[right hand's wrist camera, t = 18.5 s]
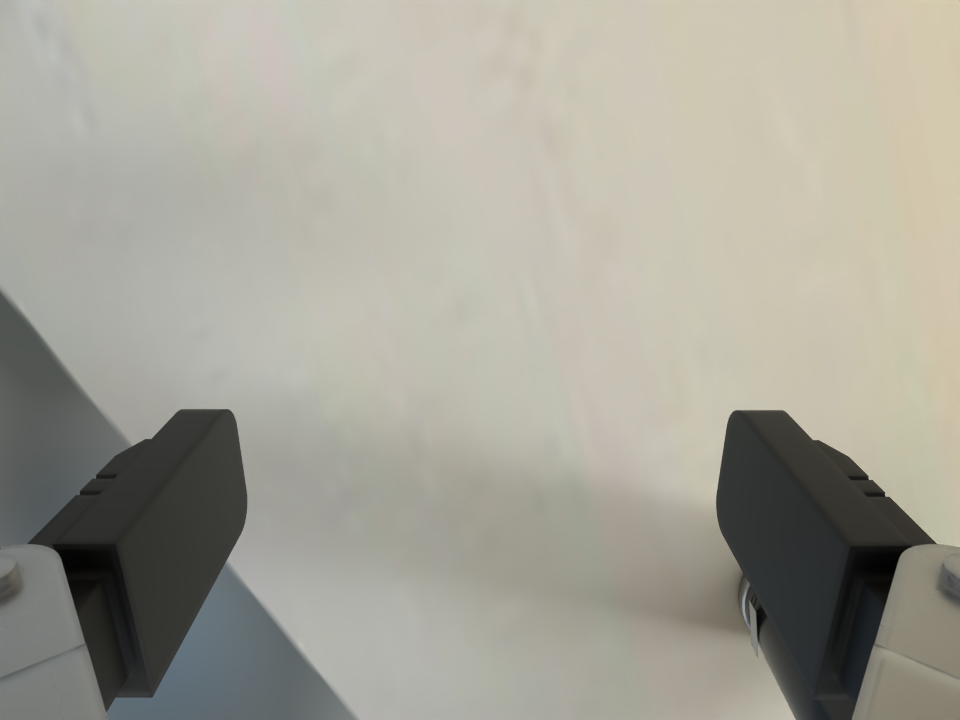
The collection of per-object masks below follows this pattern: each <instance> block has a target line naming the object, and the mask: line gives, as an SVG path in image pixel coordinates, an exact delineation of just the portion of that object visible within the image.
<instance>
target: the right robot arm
mask: <svg viewBox="0 0 960 720" xmlns="http://www.w3.org/2000/svg"><path fill="white" fill-rule="evenodd" d="M868 477H869V476H868V475H867V474H866V473H865V472H864V471H863V470H862V469H861V468H860V467H859V466H858V465H857V464H856V463H855V462H854V461H853V460H852V459H851V458H850V457H848V456H846V455H845V454H843V453H841V452H839V451H837V450H835V449H834V448H832V447H830V446H828V445H826V444H825V443H823V442H821V441H819V440H812V439H811V438H810V437H809V436H808V435H807V433H806V432H805V431H804V430H803V429H802V428H801V427H800V426H799V425H798V424H797V423H796V422H795V421H794V420H793V419H792V418H791V417H790V416H789V415H788V414H787V413H786V412H785V411H783V410H736V411H734V412H733V413H732V414H731V415H730V417H729V420H728V424H727V429H726V436H725V442H724V449H723V456H722V462H721V469H720V476H719V482H718V489H717V497H716V509H717V518H718V523H719V527H720V530H721V532H722V534H723V536H724V538H725V540H726V542H727V544H728V546H729V547H730V549H731V551H732V553H733V555H734V556H735V558H736V560H737V562H738V564H739V566H740V567H741V569H742V571H743V573H744V577H743V580H742V582H741V585H740V590H739V607H740V610H741V613H742V616H743V618H744V620H745V622H746V624H747V626H748V628H749V629H750V631H751V645H752V647H753V649H754V651H755V653H756V655H757V657H758V646H757V642H758V644H759V646H760V648H761V650H762V652H763V654H764V657H765V659H766V661H767V663H768V665H769V667H770V669H771V671H772V673H773V675H774V677H775V679H776V681H777V683H778V685H779V687H780V689H781V691H782V693H783V695H784V697H785V699H786V701H787V703H788V705H789V707H790V709H791V711H792V713H793V715H794V717H795V719H796V720H960V548H959V547H954V546H949V545H940V544H936V543H935V542H934V541H933V540H932V539H931V538H930V537H929V536H928V535H927V534H926V533H925V532H924V531H923V530H922V529H921V528H920V527H919V526H918V525H917V524H916V523H915V522H914V521H913V520H912V519H911V518H910V517H909V516H908V515H907V514H906V513H905V512H904V511H903V510H902V509H901V508H900V507H899V506H898V505H897V504H896V503H895V502H894V501H893V500H892V499H891V498H890V497H885V492H884V491H883V490H882V489H881V488H880V487H879V486H878V485H877V484H876V483H875V482H874V481H873V480H869V479H868ZM246 513H247V491H246V484H245V477H244V470H243V464H242V457H241V450H240V443H239V437H238V430H237V424H236V420H235V417H234V415H233V413H232V412H231V411H230V410H228V409H182V410H179V411H178V412H177V413H176V414H175V415H174V416H173V417H172V418H171V419H170V420H169V421H168V422H167V423H166V424H165V425H164V426H163V428H162V429H161V430H160V431H159V432H158V433H157V434H156V435H155V436H154V437H153V438H152V439H145V440H143V441H141V442H139V443H138V444H136V445H134V446H132V447H130V448H129V449H127V450H125V451H123V452H121V453H120V454H118V455H116V456H115V457H114V458H113V459H112V460H111V461H110V462H109V463H108V464H107V465H106V466H105V467H104V468H103V469H102V470H101V471H100V472H99V473H98V474H97V475H96V479H92V480H91V481H90V482H89V483H88V484H87V485H86V486H85V487H84V488H83V489H82V490H81V491H80V495H76V496H75V497H74V498H73V499H72V500H71V501H70V502H69V503H68V504H67V505H66V506H65V507H64V508H63V509H62V510H61V511H60V512H59V513H58V514H57V515H56V516H55V517H54V518H53V519H52V520H51V521H50V522H49V523H48V524H47V525H46V526H45V527H44V528H43V529H42V530H41V531H40V532H39V533H38V534H37V535H36V536H35V537H34V538H33V539H32V540H31V541H30V542H29V543H28V544H20V545H11V546H6V547H1V548H0V720H108V717H107V714H106V712H107V710H108V709H109V707H110V706H111V704H112V702H113V701H114V699H115V697H153V695H154V693H155V691H156V690H157V688H158V686H159V684H160V682H161V680H162V679H163V677H164V675H165V673H166V671H167V669H168V667H169V666H170V664H171V662H172V660H173V658H174V656H175V655H176V653H177V651H178V649H179V647H180V645H181V643H182V642H183V640H184V638H185V636H186V634H187V632H188V630H189V629H190V627H191V625H192V623H193V621H194V619H195V618H196V616H197V614H198V612H199V610H200V608H201V607H202V605H203V603H204V601H205V599H206V597H207V595H208V594H209V592H210V590H211V588H212V586H213V584H214V582H215V581H216V579H217V577H218V575H219V573H220V571H221V570H222V568H223V566H224V564H225V562H226V560H227V559H228V557H229V555H230V553H231V551H232V549H233V547H234V546H235V544H236V542H237V540H238V538H239V536H240V534H241V532H242V530H243V527H244V524H245V519H246Z"/></svg>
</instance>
